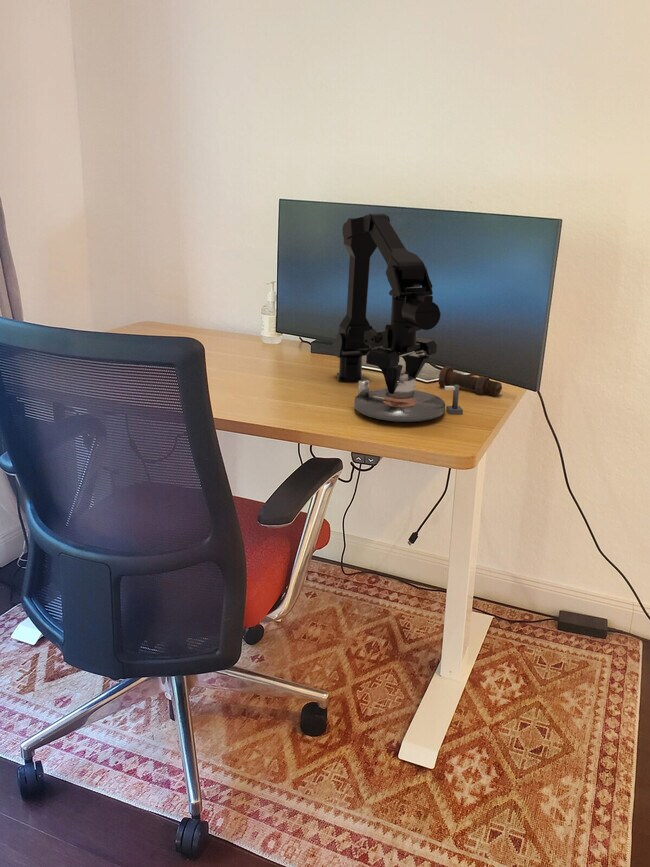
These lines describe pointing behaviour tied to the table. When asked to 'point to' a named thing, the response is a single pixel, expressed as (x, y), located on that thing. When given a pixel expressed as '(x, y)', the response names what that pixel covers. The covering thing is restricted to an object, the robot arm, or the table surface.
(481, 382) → the bolt
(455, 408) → the dial pointer
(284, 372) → the table surface
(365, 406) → the turntable
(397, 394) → the cap
